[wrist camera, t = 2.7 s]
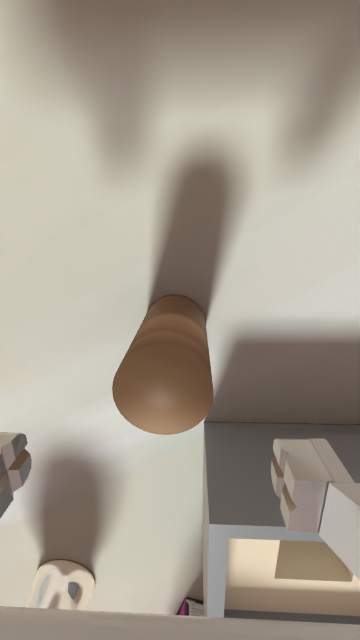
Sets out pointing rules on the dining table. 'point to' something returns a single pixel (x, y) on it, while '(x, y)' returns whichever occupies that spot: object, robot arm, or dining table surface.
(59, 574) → the beer glass
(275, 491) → the robot arm
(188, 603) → the candy bar box
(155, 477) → the dining table surface
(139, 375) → the peg
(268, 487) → the open-top box
